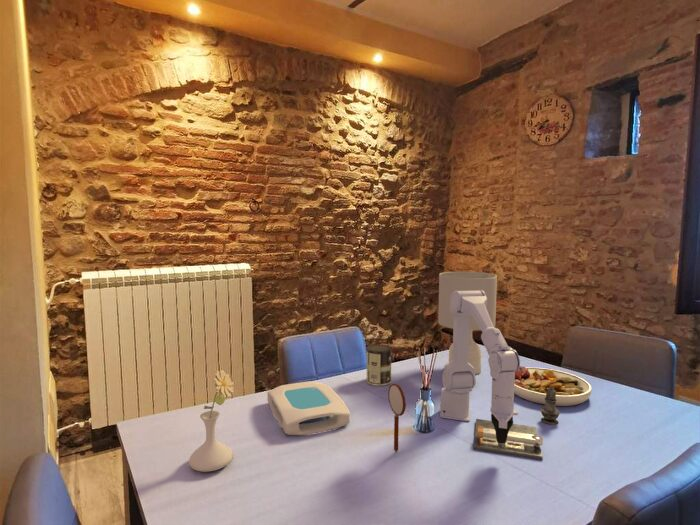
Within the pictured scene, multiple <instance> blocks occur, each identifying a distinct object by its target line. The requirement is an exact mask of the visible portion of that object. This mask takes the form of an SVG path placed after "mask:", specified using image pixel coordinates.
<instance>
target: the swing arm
mask: <svg viewBox="0 0 700 525" xmlns="http://www.w3.org/2000/svg"><path fill="white" fill-rule="evenodd" d="M483 437H485V438H491V439H496V432H495V429H489V428H483V426H478V434H477V438H483ZM506 441H512V442H518V443H525V444H532V445H540V446H543V444H544V438H543V437H542V436H540V435H531V434H524V433H517V432H510V431H509V432H508V436H507V440H506Z"/></svg>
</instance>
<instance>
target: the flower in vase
mask: <svg viewBox="0 0 700 525" xmlns="http://www.w3.org/2000/svg"><path fill="white" fill-rule="evenodd" d="M213 383H214V388H215V391H216V392H215V393H214V394H215V395H214V398H213V403H212V405H211V406H208V405H204V407H203V409H204V410H207V409H208V410H207V411H205V412H202V413H201V414H200V415H199V418H200V419H201V420H202V421H203V423H204V428H205V436H206V437H205V441H204V442H203V444H202V445H200V446H199V447H198V448H196V449H195V450H194V451H193V452H192V454H190V457H189V459H188V464H189V467H191V469H192V470H194V471H197V472H200V473H201V472H203V473H204V472H206V473H207V472H213V471H218V470H221V469H222V468H225V467H226V466H227V465H229V464H230V463H231V461H232V460H233V458H234V453H233V450H232V449H231V448H230V447H229V446H228V445H226V444H224V443H223V442H219V441H218V440H217V439H216V424H217V423H216V422H217V420H218V419H219V417H220V414H221V413H220V412H219V411H217V410H213V409H214V408H215V407H214V406H215V403H216V404H217V405H218V406H222V405H223V404H224V403H225V401H226V399H228V398H231V397H232V394H234V382H233V381H232V378H230V374H228V373H226V372H225V371H224V370H222V369H220V370H216V372H215V373H214V376H213ZM217 394H218V395H217Z"/></svg>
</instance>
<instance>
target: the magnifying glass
mask: <svg viewBox="0 0 700 525" xmlns="http://www.w3.org/2000/svg"><path fill="white" fill-rule="evenodd" d="M387 396H388V402H389V406H390V408H391V411H392V413H394V416H393V417H394V419H393V420H394V421H393V423H394V424H393V425H394V426H393V428H394V429H393V431H394V432H393V436H394V437H393V439H394V440H393V451H394V453H395V454H397V453H398V451H399V428H400V427H399V424H400V423H399V422H400V421H399V417H401V416H402V415H404V413H405V411H406V408H407V407H406V405H407V404H406V397H405V393H404V391H403V389H402V387H401V386H400V385H399V384H398V383H392V384H391V385H390V386H389V387H388V394H387Z"/></svg>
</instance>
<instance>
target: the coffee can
mask: <svg viewBox="0 0 700 525" xmlns="http://www.w3.org/2000/svg"><path fill="white" fill-rule="evenodd" d="M365 350H366V383H367V384H369V385H370V386H377V387H378V386H379V387H380V386H381V387H382V386H388V385H390V384H391V383H392V347H391V346H389V345H386V344H371V345H368V346H367V347H366V349H365Z"/></svg>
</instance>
